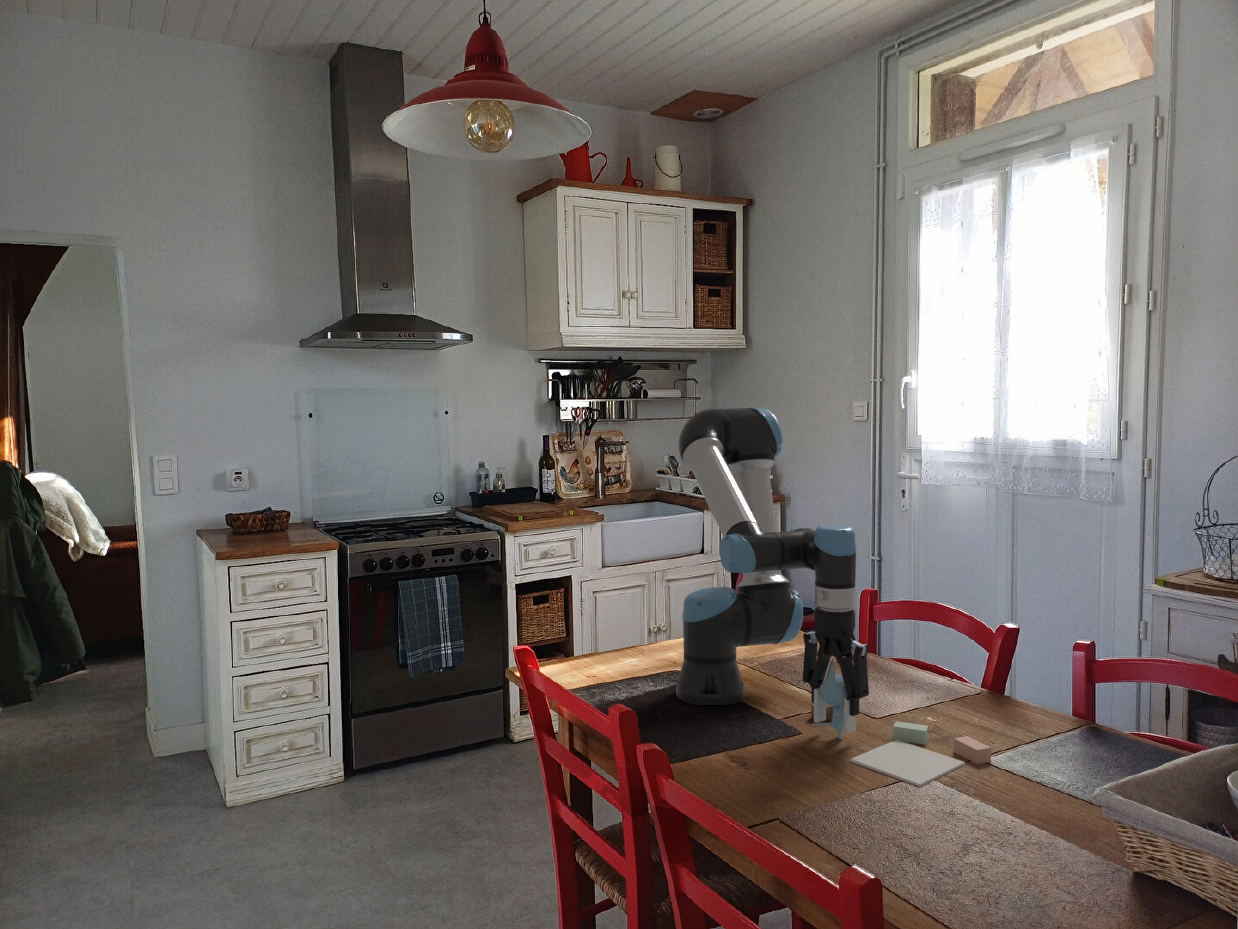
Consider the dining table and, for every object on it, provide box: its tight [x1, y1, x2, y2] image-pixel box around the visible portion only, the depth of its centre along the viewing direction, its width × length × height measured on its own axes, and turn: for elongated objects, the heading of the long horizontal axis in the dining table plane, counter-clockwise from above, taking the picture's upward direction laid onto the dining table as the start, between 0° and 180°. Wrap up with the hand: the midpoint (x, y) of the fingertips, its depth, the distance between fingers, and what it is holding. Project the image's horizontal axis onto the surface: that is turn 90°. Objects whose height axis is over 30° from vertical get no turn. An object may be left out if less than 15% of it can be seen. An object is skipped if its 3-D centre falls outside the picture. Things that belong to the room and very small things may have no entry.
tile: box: [850, 740, 966, 787], centre depth 160 cm, size 14×14×1 cm
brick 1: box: [810, 703, 844, 723], centre depth 184 cm, size 6×3×3 cm, turn 114°
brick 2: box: [892, 720, 929, 746], centre depth 171 cm, size 6×3×3 cm, turn 63°
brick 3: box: [953, 735, 992, 765], centre depth 162 cm, size 6×3×3 cm, turn 21°
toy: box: [810, 658, 848, 740], centre depth 172 cm, size 7×7×15 cm
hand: (834, 725), depth 172 cm, fingers closed on toy, 6 cm apart
